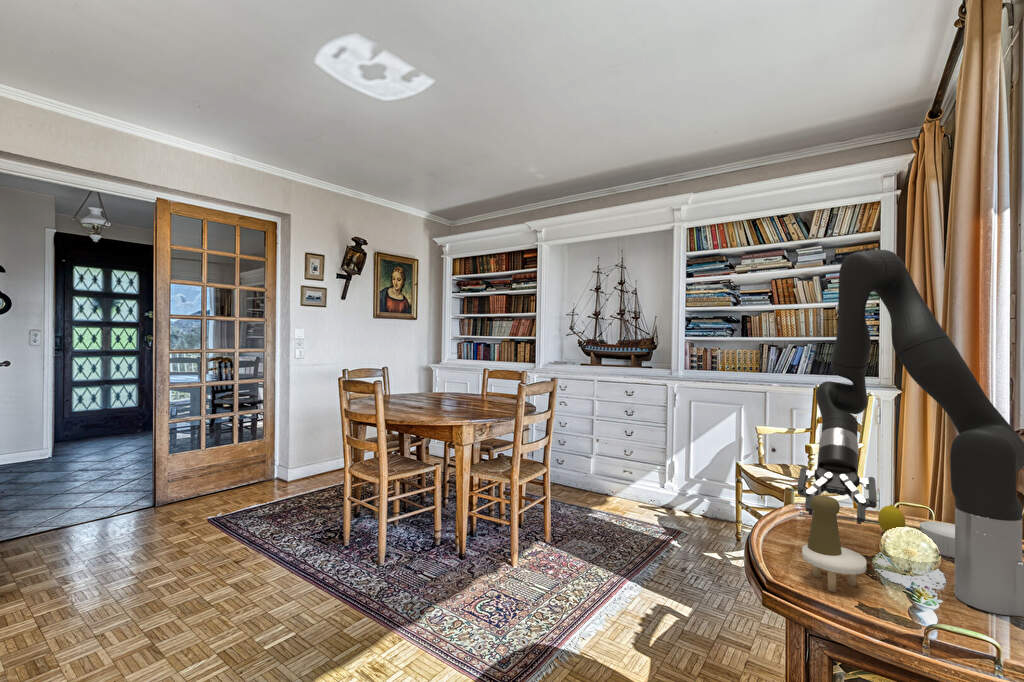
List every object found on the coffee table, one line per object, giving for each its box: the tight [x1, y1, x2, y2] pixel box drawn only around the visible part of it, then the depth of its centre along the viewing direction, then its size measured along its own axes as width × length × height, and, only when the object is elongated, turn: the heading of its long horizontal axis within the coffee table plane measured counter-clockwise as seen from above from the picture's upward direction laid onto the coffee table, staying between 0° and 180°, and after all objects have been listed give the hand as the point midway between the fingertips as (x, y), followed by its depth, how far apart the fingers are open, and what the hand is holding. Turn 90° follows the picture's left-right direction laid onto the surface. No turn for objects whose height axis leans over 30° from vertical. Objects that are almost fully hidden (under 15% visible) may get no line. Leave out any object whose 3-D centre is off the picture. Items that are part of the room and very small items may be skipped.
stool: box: [801, 543, 867, 593], centre depth 101 cm, size 11×11×6 cm
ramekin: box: [919, 520, 955, 559], centre depth 118 cm, size 11×11×5 cm
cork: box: [807, 494, 842, 556], centre depth 103 cm, size 6×6×11 cm
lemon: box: [877, 504, 907, 532], centre depth 126 cm, size 6×6×8 cm
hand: (834, 517), depth 104 cm, fingers open, 8 cm apart
